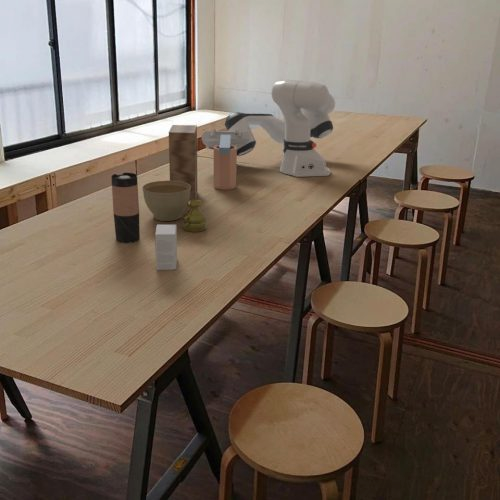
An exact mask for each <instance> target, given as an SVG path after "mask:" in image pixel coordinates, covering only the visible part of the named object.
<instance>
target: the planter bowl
mask: <svg viewBox="0 0 500 500" xmlns="http://www.w3.org/2000/svg"><path fill="white" fill-rule="evenodd" d="M141 189H142V192H143V193H142V195H143V198H144V202H145V204H146V206H147V208H148V211H150V212H151V214H152V216H153V218H154V220H157V221H162V222H169V221H170V222H173V221H176V220H179V219H181V218H183V213H184V212H185V210H186V209H187V207H188V205H187V202H188V201H189V198H190V190H191V185H190V184H188V183H185V182H181V181H170V180H157V181H151V182H148V183H145V184H144V185H142V188H141Z"/></svg>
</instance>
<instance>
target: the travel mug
mask: <svg viewBox="0 0 500 500" xmlns="http://www.w3.org/2000/svg"><path fill="white" fill-rule="evenodd" d="M138 185H139V184H138V175H137V174H136V173H133V172H123V173H122V174H117V173H114V174H112V175H111V191H112V192H111V193H112V194H111V195H112V196H111V197H112V208H113V209H112V210H113V211H112V212H113V220H114V221H113V222H114V232H115V240H116V241H117V242H118V241H119V243H121V242H124V243H123V244H130V243H129V242H132V243H135V242H134V241H136V242H138V241H140V236H141V233H140V232H141V231H140V203H139V201H140V200H139V188H138V187H139V186H138ZM137 240H138V241H137Z"/></svg>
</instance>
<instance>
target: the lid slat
mask: <svg viewBox="0 0 500 500" xmlns="http://www.w3.org/2000/svg"><path fill="white" fill-rule="evenodd" d="M230 139H231V135H221V137H220V145H219V154H230Z"/></svg>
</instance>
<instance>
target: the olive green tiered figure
mask: <svg viewBox="0 0 500 500" xmlns="http://www.w3.org/2000/svg"><path fill="white" fill-rule="evenodd" d="M202 205H203V201H202V200H200V199H198V198H196V199H192V200H189V201H188V202H187V206H188V207H189V208H190V209H189V210H188V211H187V212H186V213H184V215H182V218H183V222H182V223H183V229H184V230H185V232H186V231H187V232H190V233H200V232H204V231H206V229H207V221H206V220H207V215H206V213H204V212H203V211H201V210H200V207H201V206H202Z"/></svg>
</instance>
